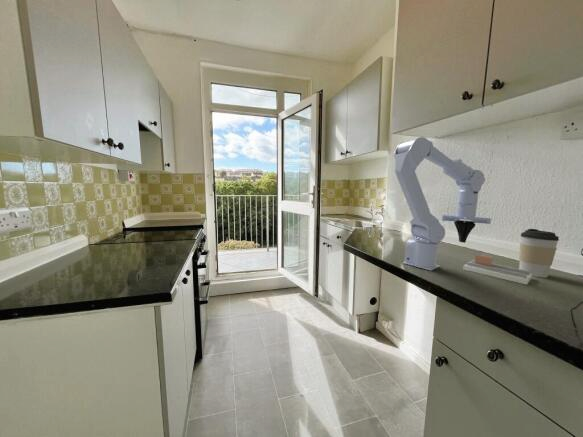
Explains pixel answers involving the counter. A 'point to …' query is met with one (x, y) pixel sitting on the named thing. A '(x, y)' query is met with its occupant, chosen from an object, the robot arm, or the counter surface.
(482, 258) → the switch
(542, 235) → the coffee cup
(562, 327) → the counter surface
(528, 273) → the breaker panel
